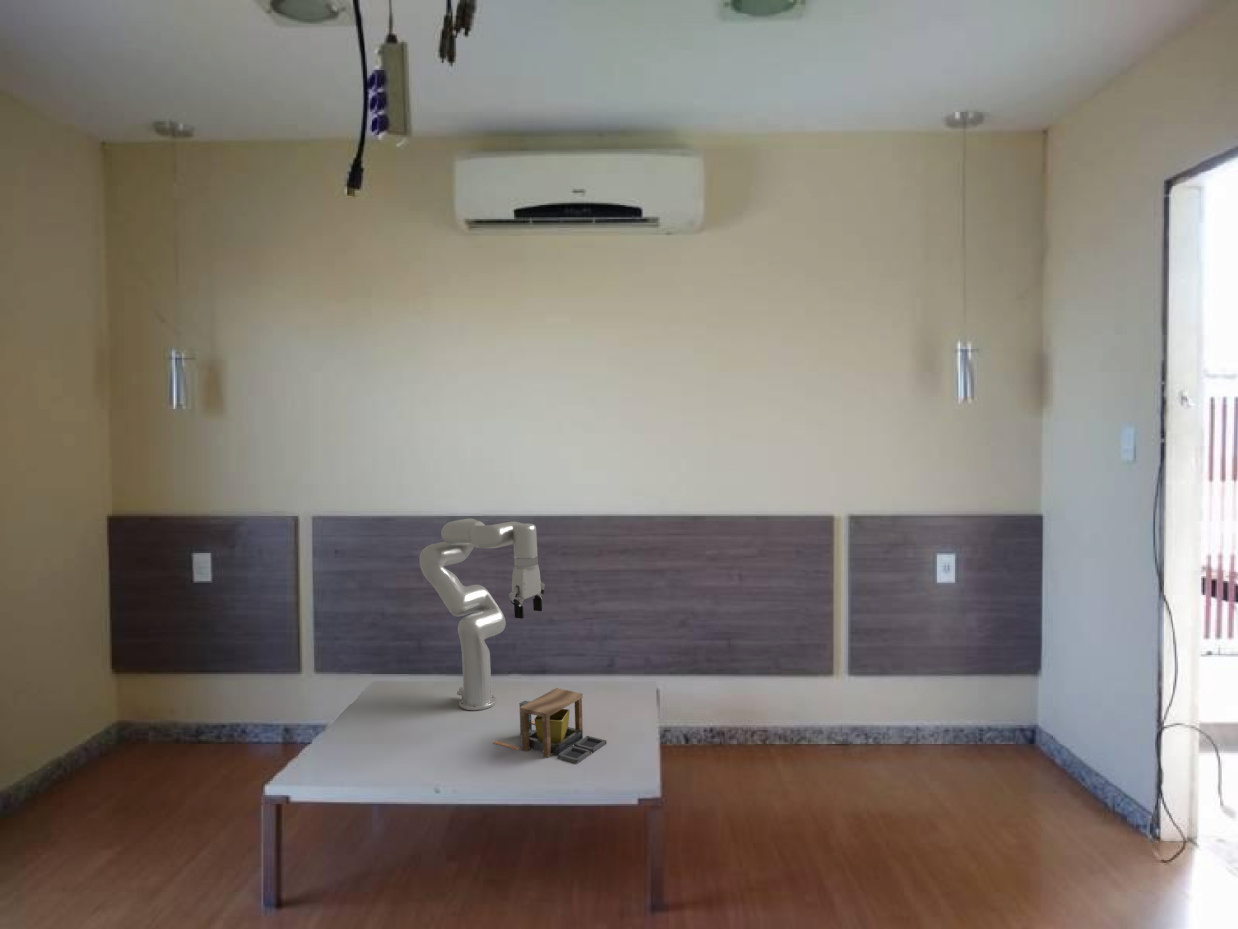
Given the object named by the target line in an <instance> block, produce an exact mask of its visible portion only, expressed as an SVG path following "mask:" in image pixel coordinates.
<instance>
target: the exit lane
mask: <svg viewBox="0 0 1238 929" xmlns="http://www.w3.org/2000/svg"><path fill="white" fill-rule="evenodd" d="M531 722H532V725H535V720H531ZM492 743H493V744H495V745H499V746H503V747H506V748H510V749H514V750H517V751H519V750H522V746H521V747H520V746H516V745H512V744H509V743H506V742H502V741H500V740H493V741H492Z"/></svg>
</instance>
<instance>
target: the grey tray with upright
mask: <svg viewBox="0 0 1238 929" xmlns="http://www.w3.org/2000/svg"><path fill="white" fill-rule="evenodd" d="M529 702H530V701H528V700H523V701H521V702H519V703H518V704H519V708H520V707H521V706H523V705H525V704H527V703H529ZM531 721H532V714H529V742H530V749H534V750H538V751H541V752H543V741H542V740H539V739H538V736H537V733H536V729H535V730H534V729H533V727H532V725H533V724H532V722H531ZM519 729H520V734H519V735H520V736H521V737H522V732H521V711H520V710H519ZM583 732H584V731H583ZM583 732H582V730H579V729H575V727H571V726H568V729H567V732H566V734H565V737H564V739H563V740H562V741H560V742H559V743H557V744H554V743H551V755H552V754H553V755H555V756H558V754H560V753H561V752H563V751H564V750H566V749H568V748H569V747H571V746H574V744H575V743H577V742H578V741H580V740H581V739H583V738H584V736H583V735H584V734H583Z"/></svg>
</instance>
